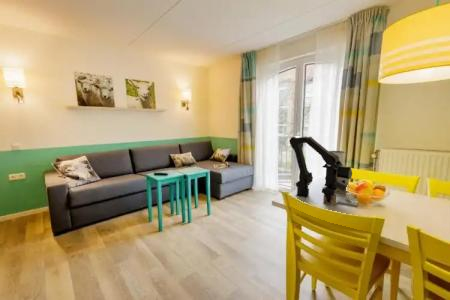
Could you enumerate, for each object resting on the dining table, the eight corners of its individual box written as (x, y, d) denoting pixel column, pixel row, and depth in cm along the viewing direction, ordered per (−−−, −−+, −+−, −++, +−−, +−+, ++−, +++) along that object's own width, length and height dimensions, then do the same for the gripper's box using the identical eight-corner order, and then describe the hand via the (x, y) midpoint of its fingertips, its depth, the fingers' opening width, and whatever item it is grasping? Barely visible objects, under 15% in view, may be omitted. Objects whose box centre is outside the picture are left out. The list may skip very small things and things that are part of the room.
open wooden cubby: (323, 203, 128) (323, 193, 127) (325, 199, 133) (325, 190, 132) (334, 205, 124) (334, 195, 123) (335, 201, 129) (336, 192, 128)
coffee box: (332, 191, 146) (333, 169, 144) (333, 189, 151) (334, 167, 149) (347, 194, 141) (349, 170, 139) (348, 191, 146) (349, 168, 144)
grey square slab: (337, 203, 127) (337, 194, 126) (339, 197, 135) (340, 189, 134) (357, 207, 121) (358, 198, 120) (358, 201, 129) (359, 192, 128)
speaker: (325, 183, 165) (327, 149, 161) (339, 183, 164) (341, 149, 160) (330, 187, 155) (332, 152, 151) (345, 187, 154) (348, 152, 150)
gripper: (344, 181, 114) (342, 209, 116) (348, 173, 129) (346, 198, 131) (322, 178, 120) (321, 204, 122) (328, 171, 135) (326, 195, 138)
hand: (329, 200), depth 128 cm, fingers closed on open wooden cubby, 6 cm apart
